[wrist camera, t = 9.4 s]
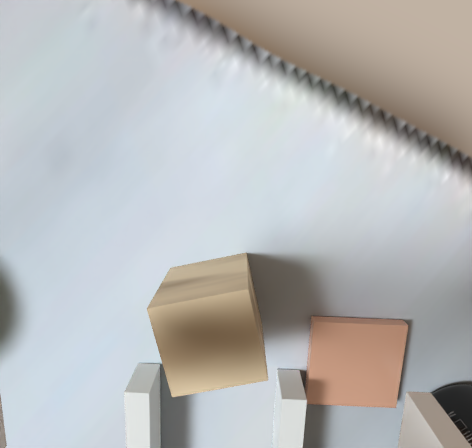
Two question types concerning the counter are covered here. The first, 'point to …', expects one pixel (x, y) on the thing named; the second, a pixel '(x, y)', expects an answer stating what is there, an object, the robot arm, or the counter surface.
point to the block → (209, 326)
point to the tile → (355, 361)
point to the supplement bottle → (457, 406)
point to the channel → (149, 415)
